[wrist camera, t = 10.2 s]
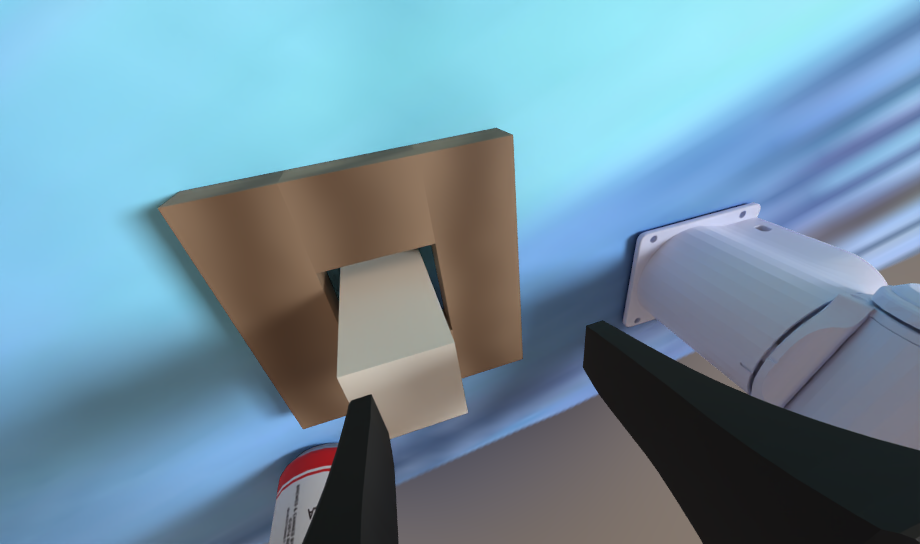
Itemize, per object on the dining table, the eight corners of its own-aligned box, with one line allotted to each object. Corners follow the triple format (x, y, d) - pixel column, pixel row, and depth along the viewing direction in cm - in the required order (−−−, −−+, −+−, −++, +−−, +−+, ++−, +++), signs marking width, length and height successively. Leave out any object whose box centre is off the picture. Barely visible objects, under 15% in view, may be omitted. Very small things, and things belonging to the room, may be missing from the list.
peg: (415, 242, 18) (454, 342, 12) (429, 301, 21) (468, 413, 14) (340, 261, 18) (337, 377, 11) (362, 319, 20) (370, 446, 13)
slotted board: (496, 127, 16) (513, 134, 15) (510, 338, 24) (522, 358, 22) (179, 191, 14) (157, 208, 13) (306, 401, 22) (302, 429, 20)
